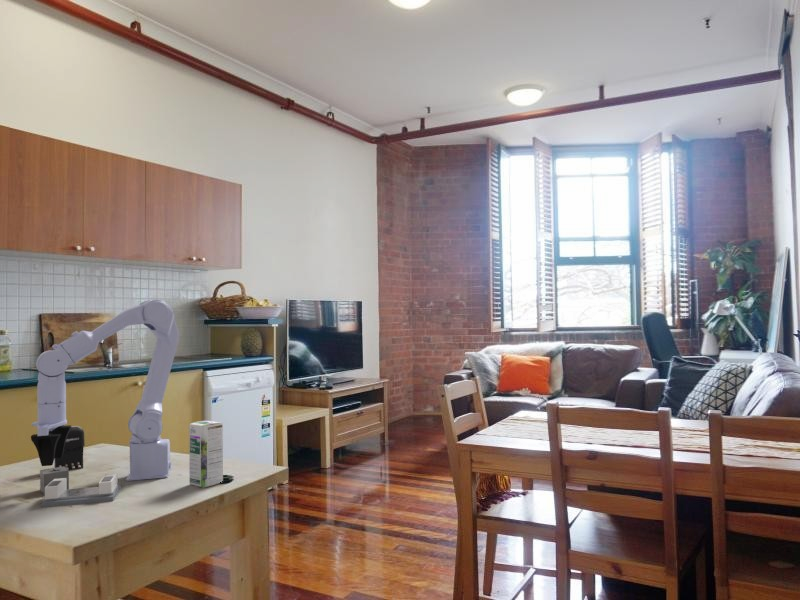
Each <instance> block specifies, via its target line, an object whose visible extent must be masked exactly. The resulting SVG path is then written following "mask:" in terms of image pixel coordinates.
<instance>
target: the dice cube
mask: <svg viewBox="0 0 800 600" xmlns="http://www.w3.org/2000/svg"><path fill="white" fill-rule="evenodd" d="M69 472H70V471H69V470H68V469H67V468H66V467H65V466H63V467H57V468H54V467H52V468H45V469H40V470H39V484H40V485H39V490H40V492H41V493H42V494H43V496H45V487H46V486H47V485H48V484H49V483H50V482H51V481H52V480H54V479H59V478H67V489H70V487H69V485H70V481H69V479H70V477H69V475H70V473H69ZM67 489H66V490H67Z"/></svg>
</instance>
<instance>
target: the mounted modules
mask: <svg viewBox="0 0 800 600" xmlns="http://www.w3.org/2000/svg"><path fill="white" fill-rule="evenodd" d="M118 483H119V482H118V473H107V474H105V475H104V476H103V477H102V478H101V479H100V481H99V482H98V487H99V494H108V493H112V492H113V490H114V489H115V487H116V486H117V485H119V484H118ZM66 489H67V478H59V479H54V480H52V481H51V482H50V483H49V484H48V485H47V486H46V487H45V495H44V498H45V499H54V498H59V497H60V495H61V494H62V493H63V492H64V491H65V490H66Z"/></svg>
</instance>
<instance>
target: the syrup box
mask: <svg viewBox="0 0 800 600" xmlns="http://www.w3.org/2000/svg"><path fill="white" fill-rule="evenodd" d="M223 425H224V423H223V422H220V421H213V420H199V421H198V420H197V421H195V422H192V423H189V427H188V429H189V430H188V431H189V432H188V433H189V435H188V436H189V437H188V438H189V445H188V446H189V457H188V458H189V460H188V461H189V462H188V463H189V464H188V465H189V476H188V477H189V480H188V481H189V483H188V484H189V485H190V486H195V487H200V488H203V489H204V488H208V487H212V486H215V485H219V484H221V483H223V482H224V454H223V453H224V450H223V449H224V443H223V442H224V441H223V440H224V438H223V437H224V434H223V433H224V430H223V429H224V426H223ZM222 481H223V482H222ZM220 482H221V483H220Z"/></svg>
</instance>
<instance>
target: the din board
mask: <svg viewBox="0 0 800 600" xmlns="http://www.w3.org/2000/svg"><path fill="white" fill-rule="evenodd" d="M121 489H122V487H121V485H119V484H118V485H117V486H116V487H115V489H114V490H113V492H112V493H108V494H99V486H93V487H91V486H90V487H81V488H69V489H67V490H65V491H64V492H63V493H62V494H61V495H60V497H59V498H54V499H45V497H44V498H43V500H42V502H41V503H40V508H47V507H58V506H72V505H81V504H83V505H84V504H94V503H103V502H104V503H105V502H106V503H107V502H113V501H115V499H116V497H117V495H119V493H120V491H121Z"/></svg>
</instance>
